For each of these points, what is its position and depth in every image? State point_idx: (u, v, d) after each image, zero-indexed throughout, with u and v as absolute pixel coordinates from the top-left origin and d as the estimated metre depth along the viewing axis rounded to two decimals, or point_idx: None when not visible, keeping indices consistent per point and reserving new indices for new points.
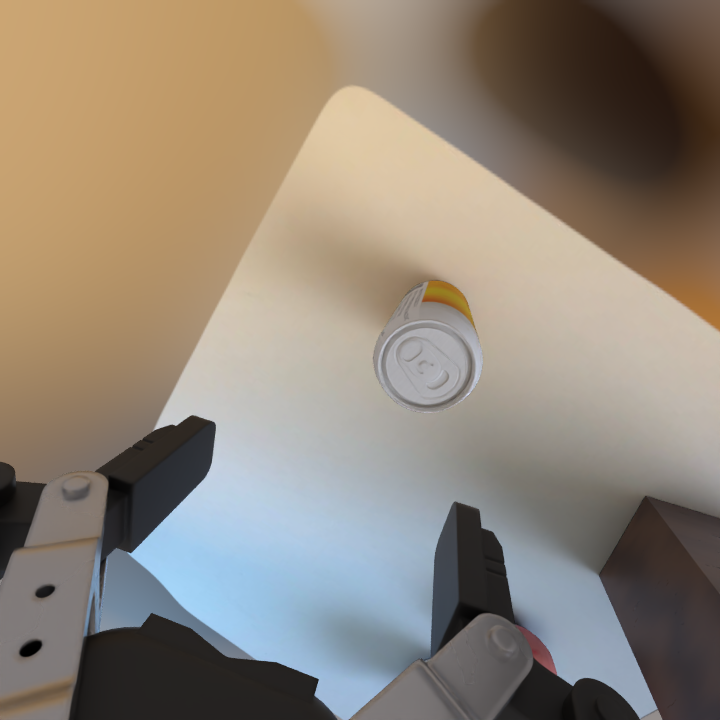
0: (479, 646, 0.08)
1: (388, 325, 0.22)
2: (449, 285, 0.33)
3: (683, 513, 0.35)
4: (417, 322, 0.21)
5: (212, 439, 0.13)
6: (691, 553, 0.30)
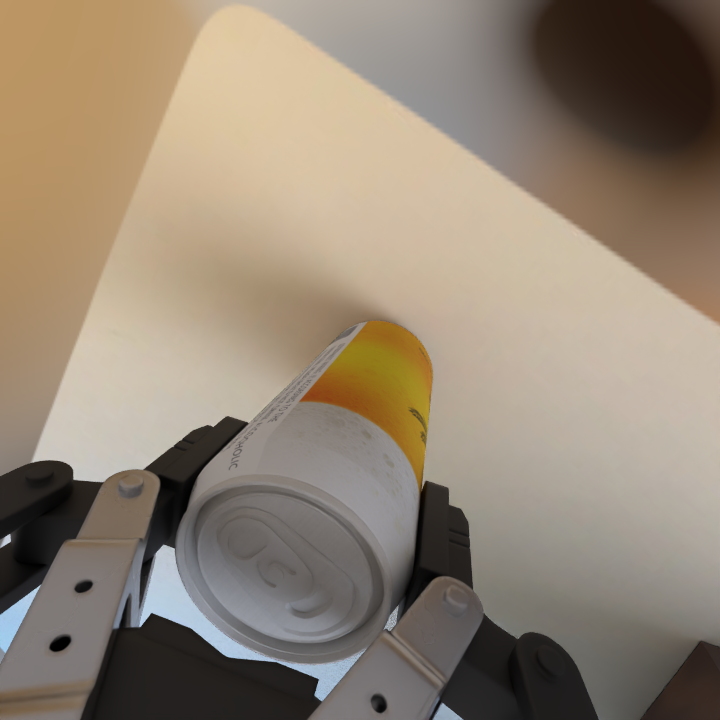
0: (436, 608, 0.08)
1: (206, 468, 0.10)
2: (397, 331, 0.20)
3: None
4: (248, 484, 0.09)
5: None
6: None
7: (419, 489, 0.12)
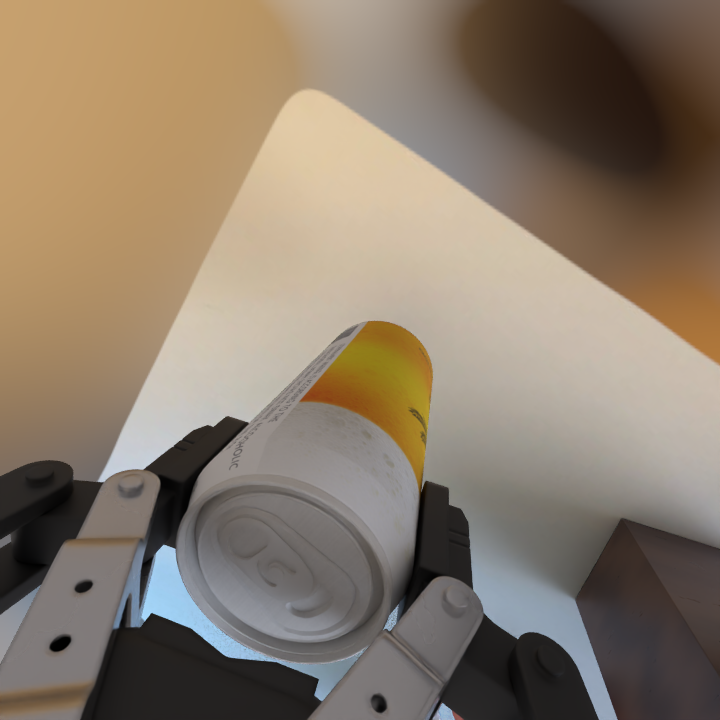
0: (436, 608, 0.08)
1: (206, 468, 0.10)
2: (397, 331, 0.20)
3: (660, 537, 0.34)
4: (248, 484, 0.09)
5: None
6: (665, 584, 0.28)
7: (419, 489, 0.12)
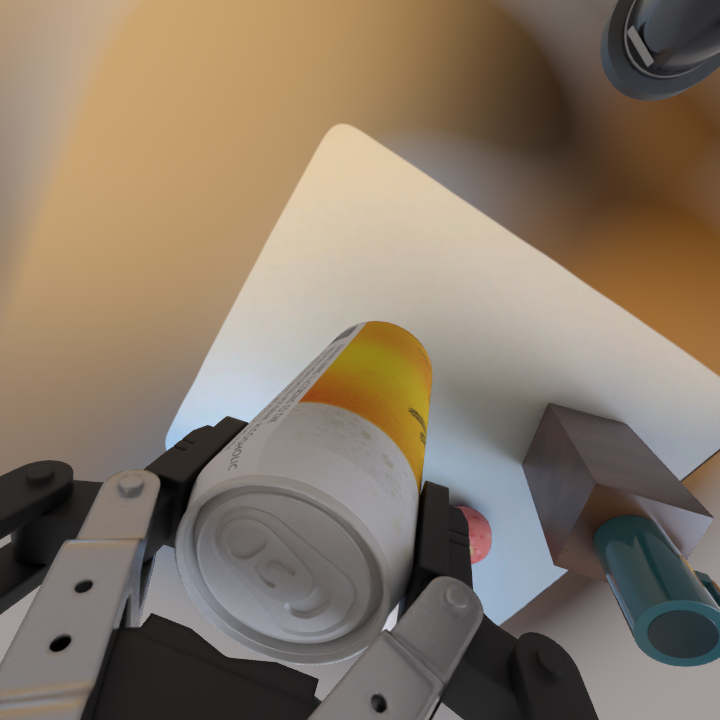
0: (436, 608, 0.08)
1: (205, 469, 0.10)
2: (396, 331, 0.20)
3: (572, 412, 0.51)
4: (247, 484, 0.09)
5: None
6: (564, 427, 0.46)
7: (418, 489, 0.12)
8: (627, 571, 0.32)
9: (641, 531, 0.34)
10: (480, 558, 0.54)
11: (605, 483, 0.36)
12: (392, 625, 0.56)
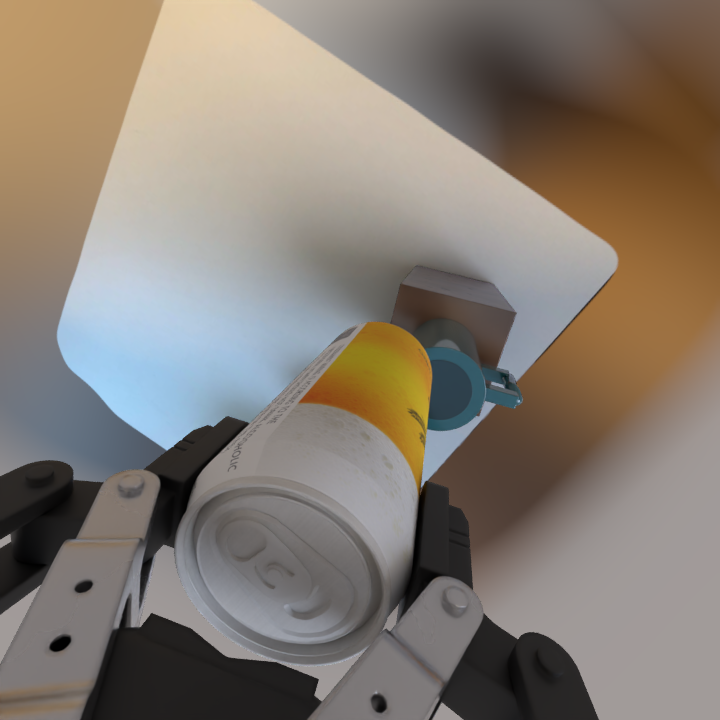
0: (435, 607, 0.08)
1: (205, 470, 0.10)
2: (396, 332, 0.20)
3: (437, 271, 0.50)
4: (247, 485, 0.09)
5: None
6: (413, 270, 0.45)
7: (418, 490, 0.12)
8: None
9: (437, 323, 0.33)
10: None
11: (411, 285, 0.35)
12: None
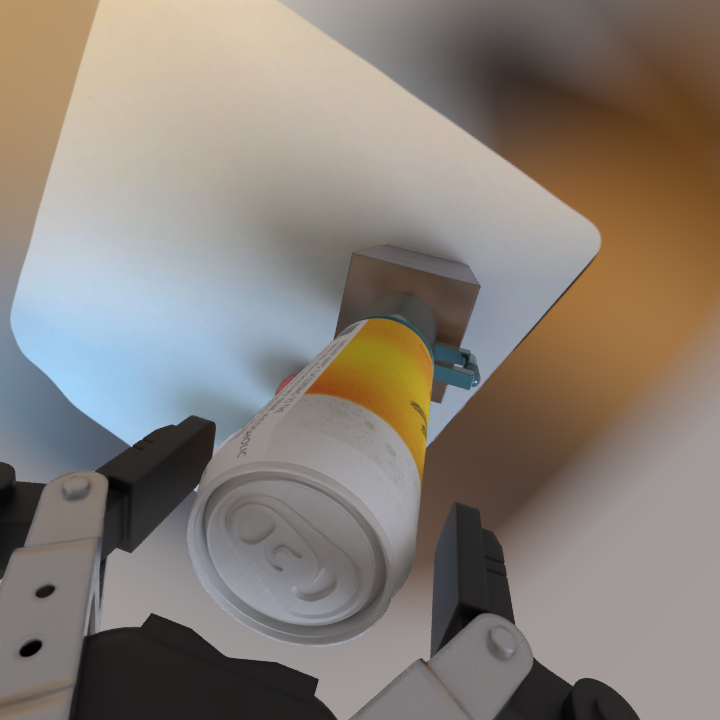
0: (479, 646, 0.08)
1: (215, 457, 0.10)
2: (398, 328, 0.21)
3: (407, 250, 0.46)
4: (256, 470, 0.09)
5: (212, 439, 0.13)
6: (378, 247, 0.41)
7: (420, 479, 0.12)
8: None
9: (390, 296, 0.29)
10: None
11: (365, 255, 0.31)
12: None
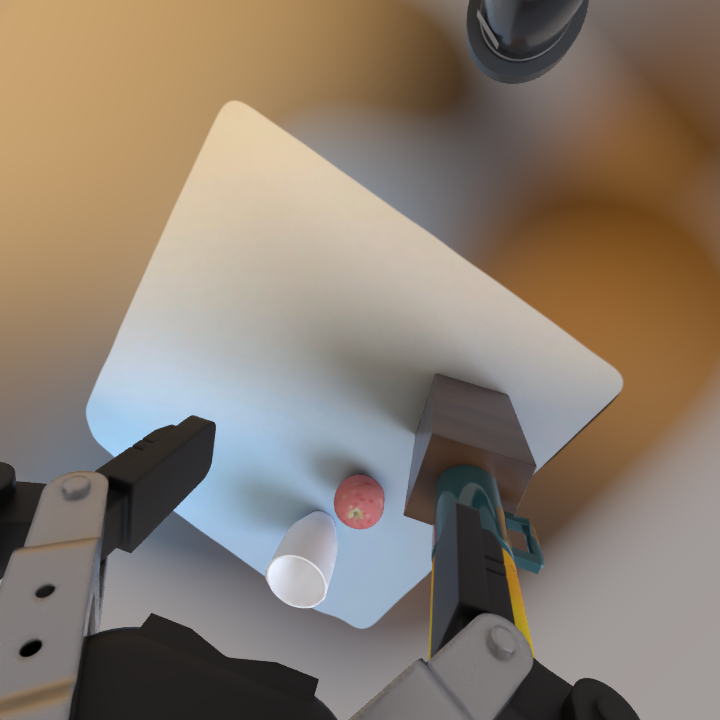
0: (479, 646, 0.08)
1: None
2: None
3: (455, 381, 0.54)
4: None
5: (212, 439, 0.13)
6: (436, 392, 0.49)
7: None
8: (440, 509, 0.34)
9: (465, 477, 0.37)
10: (370, 522, 0.57)
11: (441, 434, 0.39)
12: (287, 588, 0.58)
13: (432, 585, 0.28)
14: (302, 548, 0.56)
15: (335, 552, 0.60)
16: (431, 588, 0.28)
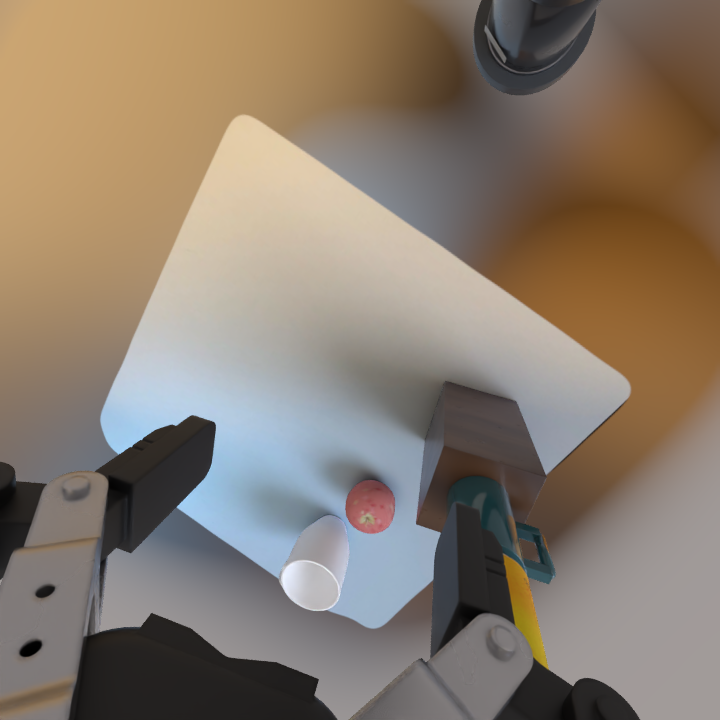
0: (479, 646, 0.08)
1: None
2: (509, 568, 0.29)
3: (464, 389, 0.55)
4: None
5: (212, 439, 0.13)
6: (446, 401, 0.49)
7: None
8: None
9: (477, 488, 0.37)
10: (381, 527, 0.58)
11: (453, 446, 0.39)
12: (301, 591, 0.60)
13: None
14: (315, 553, 0.57)
15: (347, 556, 0.61)
16: None
